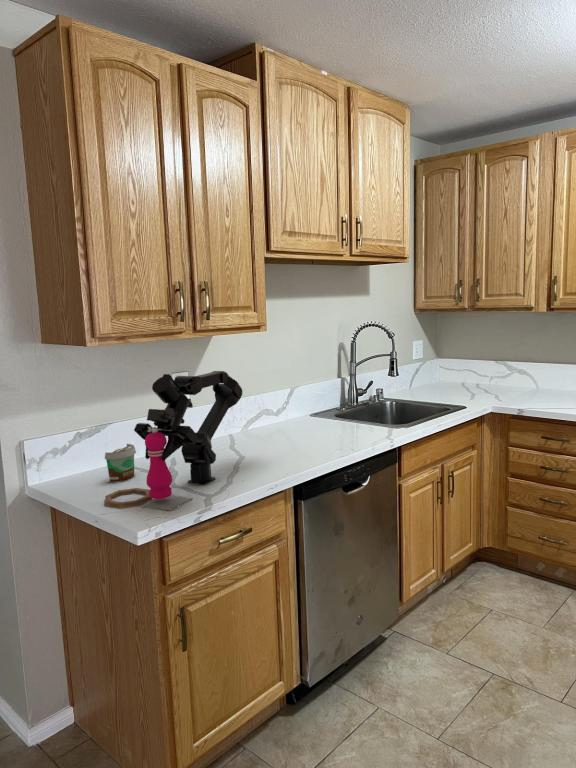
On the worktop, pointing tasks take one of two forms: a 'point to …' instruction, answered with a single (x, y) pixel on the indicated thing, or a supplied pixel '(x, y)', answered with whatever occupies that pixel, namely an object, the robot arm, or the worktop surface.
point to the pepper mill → (157, 466)
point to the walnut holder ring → (127, 503)
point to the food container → (121, 463)
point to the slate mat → (167, 502)
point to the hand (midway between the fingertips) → (154, 459)
